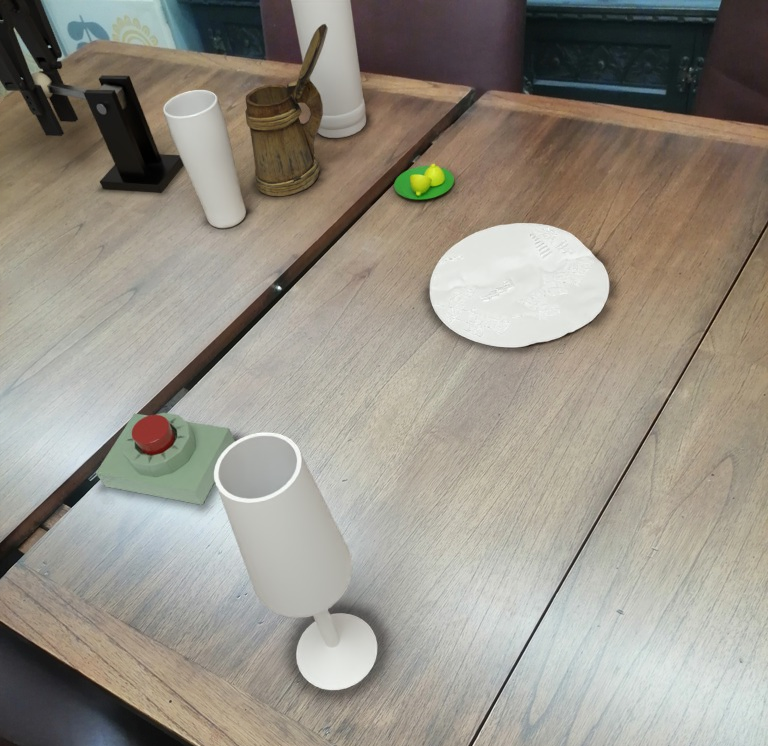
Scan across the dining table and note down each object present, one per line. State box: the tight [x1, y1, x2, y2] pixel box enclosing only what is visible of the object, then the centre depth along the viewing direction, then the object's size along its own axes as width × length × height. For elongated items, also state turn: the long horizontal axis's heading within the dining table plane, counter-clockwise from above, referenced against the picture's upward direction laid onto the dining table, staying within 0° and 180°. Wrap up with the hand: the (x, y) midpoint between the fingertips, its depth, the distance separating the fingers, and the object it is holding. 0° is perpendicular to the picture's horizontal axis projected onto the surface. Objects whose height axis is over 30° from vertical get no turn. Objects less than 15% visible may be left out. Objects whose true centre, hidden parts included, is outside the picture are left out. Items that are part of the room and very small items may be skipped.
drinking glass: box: [162, 89, 247, 229], centre depth 88 cm, size 7×7×15 cm
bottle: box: [290, 0, 367, 139], centre depth 93 cm, size 8×8×30 cm
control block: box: [95, 412, 236, 506], centre depth 68 cm, size 11×8×4 cm
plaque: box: [429, 222, 610, 348], centre depth 78 cm, size 20×20×2 cm
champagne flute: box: [214, 431, 378, 691], centre depth 46 cm, size 7×7×24 cm
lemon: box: [393, 163, 455, 200], centre depth 92 cm, size 8×8×3 cm
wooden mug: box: [244, 24, 328, 197], centre depth 91 cm, size 9×14×18 cm, turn 94°
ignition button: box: [132, 414, 175, 455], centre depth 66 cm, size 4×4×2 cm
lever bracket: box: [84, 74, 184, 194], centre depth 98 cm, size 10×8×13 cm
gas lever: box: [31, 71, 128, 109], centre depth 95 cm, size 14×3×3 cm, turn 73°
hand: (62, 127), depth 100 cm, fingers closed on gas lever, 3 cm apart
